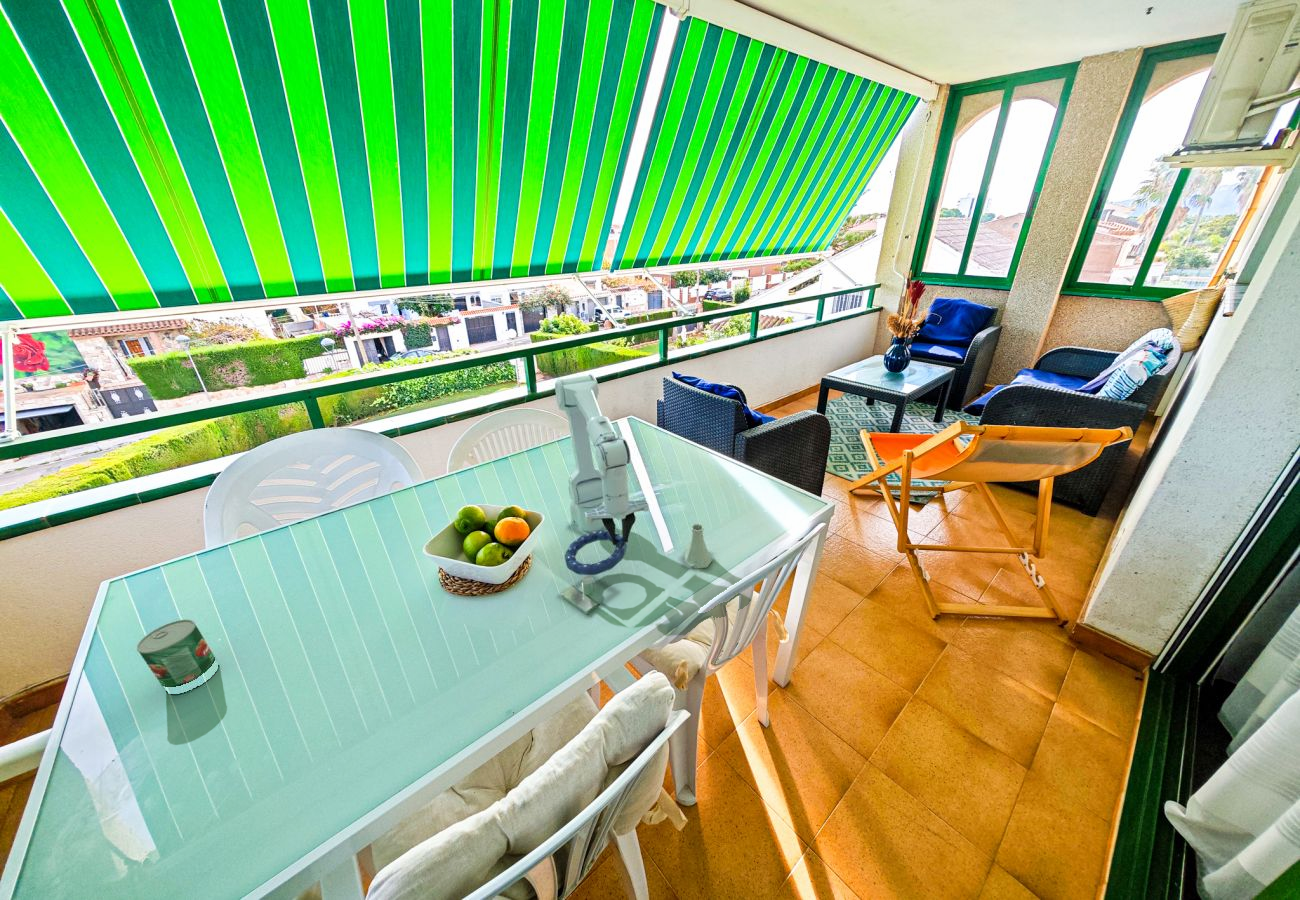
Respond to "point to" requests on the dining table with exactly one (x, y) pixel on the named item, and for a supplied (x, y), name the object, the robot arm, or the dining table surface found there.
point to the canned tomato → (176, 653)
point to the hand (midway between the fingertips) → (619, 541)
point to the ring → (600, 566)
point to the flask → (697, 548)
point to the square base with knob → (581, 596)
